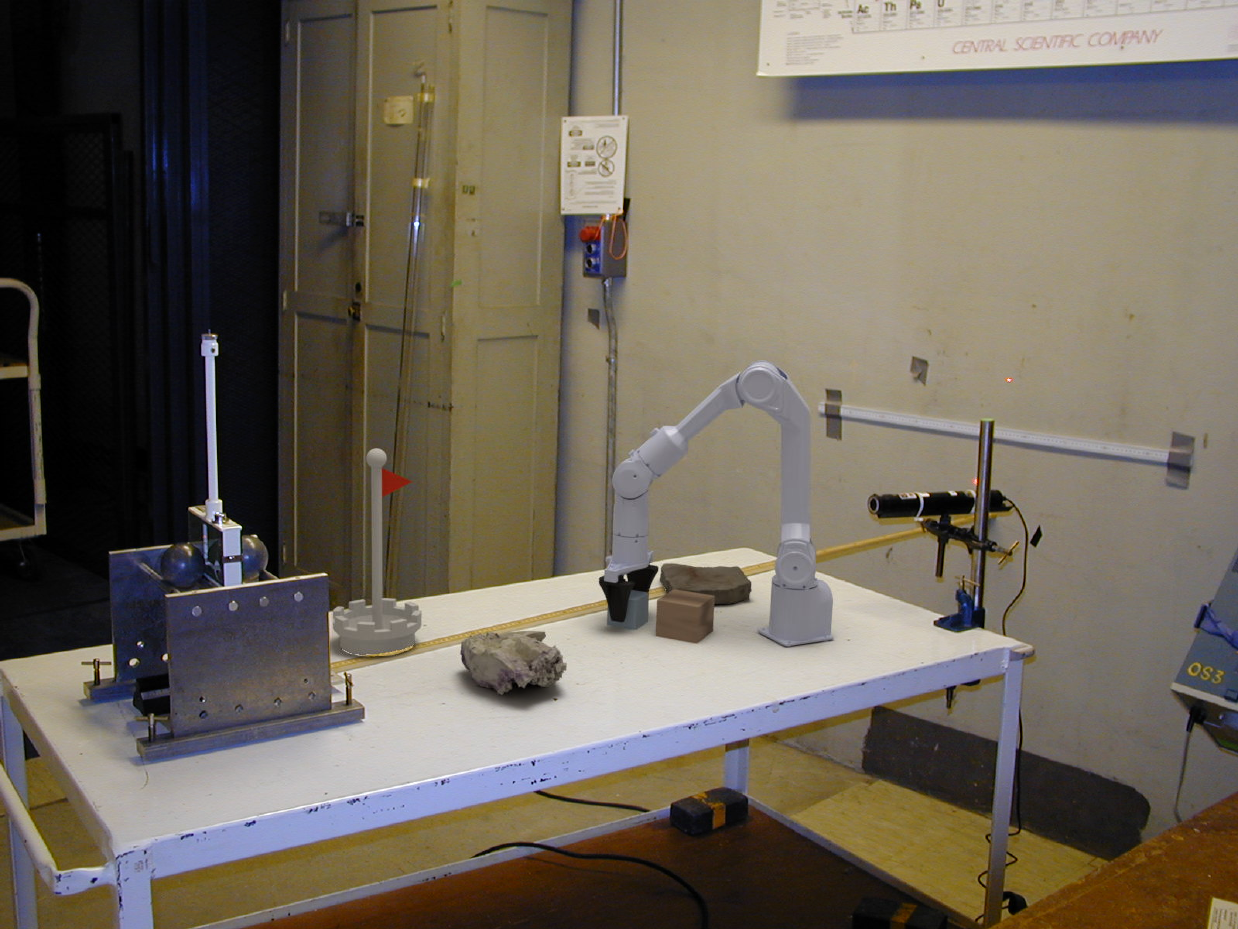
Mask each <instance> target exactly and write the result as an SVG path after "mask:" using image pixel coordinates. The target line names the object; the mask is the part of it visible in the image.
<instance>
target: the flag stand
mask: <svg viewBox="0 0 1238 929" xmlns="http://www.w3.org/2000/svg"><path fill="white" fill-rule="evenodd" d="M387 457H388V456H387V453H386V452H385V451H384V450H383V449H381V448H377V447H376V448H372V449H370V450H369V451H368V452H367V455H366V457H365V459H366V463H367V465H368V466H369V467H371V468H370V470H371V472H370V473H371V476H370V478H371V479H370V481H371V492H370V493H371V605H366V603H367V600H365V599H364V598H363V599H356V600H352V601H348V609H345V606H336V607H335V608H334V609H333V610H332V629H333V631H334V633H336V634H337V635H338V636H339V644H340V646H339V647H341V648H342V649H343V650H345V651H347V652H349V653H352V654H359V655H366V654H380V653H386V652H392V651H396V650H402V649H405V648H407V647H410V646H412V645H413V644H414V643H416V642H415V641H416V639H415V638H416V637H415V636H416V635H415V634H416V633H417V632H418V631H419V630H420V629H421V627H422V610H420V609H419V608H420V607H419V604H417V603H415V602H412V601H407V602H404V606H397V598H389V597H388V598H386V597H384V598H383V498H384V497H386V496H387V495H390V494H391V493H394V492H396V491H397V490H400V489H402V488H403V487H405V486H406V485H409V484H411V483H413V481H411V480H410V479H408V478H406V477H403V476H401V475H399V474H396V473H394V472H392V471H389V470H388V469H385V468H383V467H384V466H385V465H386V463H387V460H388V458H387ZM414 645H415V644H414ZM341 648H340V649H341Z"/></svg>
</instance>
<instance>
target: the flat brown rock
mask: <svg viewBox="0 0 1238 929" xmlns="http://www.w3.org/2000/svg"><path fill="white" fill-rule="evenodd" d="M744 572H745V571H743V570H742V569H741V567H739V566H721V565H718V566H712V567H711V566H692V565H688V564H680V563H673V562H670V563H663V564H662V565H661V567H660V578H659V581H660V583H661V584H662V587H663V586H664V587H665V589H666V592H665V593H666V594H667V593H669V592H671V591H672V590H674V589H676V590H682V591H688V592H694V593H700V594H707V595H713V596H715V600H714V605H722V604H727V605H729V604H734V603H738V602H741V601H748V600H750V595H751V592H752V581H751V580H750V579H749V578H748V576H746V575H745V573H744ZM664 587H663V588H664ZM665 589H664V590H665Z"/></svg>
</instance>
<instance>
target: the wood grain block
mask: <svg viewBox="0 0 1238 929" xmlns="http://www.w3.org/2000/svg"><path fill="white" fill-rule="evenodd" d="M714 600H715V596H713V595H707V594H700V593H694V592H688V591H682V590H676V589H674V590H672V591H671V592H669V593H667V592H666V594H664V595H663V596H661V597H660V598H658V599H657V600H656V616H655V618H656V619H655V637H658V638H664V639H670V640H676V641H681V642H685V643H692V644H699V642H701V641H702V640H704V639H705V638H706V637H707V636H709V635H710V634H711V633H713V632H714V622H715V621H714V618H715V604H714Z"/></svg>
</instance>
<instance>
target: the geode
mask: <svg viewBox="0 0 1238 929" xmlns="http://www.w3.org/2000/svg"><path fill="white" fill-rule="evenodd" d="M545 638H547V635H546V631H541V630H521V631H508V632H503V633H502V632H501V633H499V634H498V633H497V632H493V631H486V633H485V634H482V632H479V633H478V634H475V635H473V636H472V635H471V634H470V635H469V636H468V637H466V638H464V639H463V640H462V641H461V645H460V653H459V654H460V655H461V663H462V665H463V666H464V667H465V669H466V671H468V672H469V673H470V675H471V678H472V679H473V680H474V681H475V684H476V686H478V687H481V688H487V689H492V688H493V689H494V690H495V691H497V694H499V695H503V694H504V693H508V692H509V691H510V690H513V684H517V686H518V688H520V687H521V688H523V689H525V688H526V686H527V685H528V684H530V685H533V686H536V685H538V686H540V687H541V688H549V687H550V686H551V685H553V684H556V683H557V682H558V681H560V679H562V678H563V673H565V671H567V662H564V658H563V657H564V655H563V654H561V650H560V649H558V648H557V646H556V644H555V645H553V646H552V647H551V646H549V645H547V644H546V643H544V642H543V641H544V639H545Z"/></svg>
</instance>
